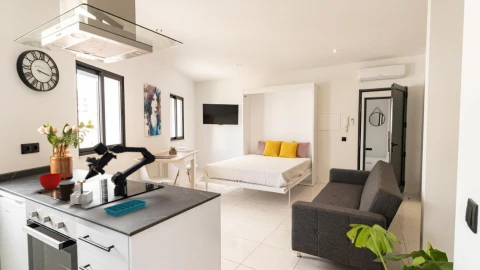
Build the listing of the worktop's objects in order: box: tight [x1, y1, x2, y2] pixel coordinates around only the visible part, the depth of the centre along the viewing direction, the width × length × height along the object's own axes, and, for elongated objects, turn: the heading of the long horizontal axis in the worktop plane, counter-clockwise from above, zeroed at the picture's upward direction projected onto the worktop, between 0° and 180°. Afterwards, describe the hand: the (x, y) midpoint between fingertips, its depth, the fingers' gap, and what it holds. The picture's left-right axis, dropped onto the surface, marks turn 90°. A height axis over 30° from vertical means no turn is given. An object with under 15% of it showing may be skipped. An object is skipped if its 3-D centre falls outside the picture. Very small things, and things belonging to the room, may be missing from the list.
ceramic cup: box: [38, 172, 68, 190], centre depth 182 cm, size 13×17×10 cm
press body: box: [69, 189, 94, 206], centre depth 148 cm, size 9×12×6 cm
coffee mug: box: [58, 180, 76, 200], centre depth 159 cm, size 12×9×10 cm
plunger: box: [74, 179, 90, 195], centre depth 149 cm, size 7×7×8 cm
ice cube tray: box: [103, 198, 148, 218], centre depth 136 cm, size 12×20×3 cm, turn 149°
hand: (85, 179), depth 150 cm, fingers closed
